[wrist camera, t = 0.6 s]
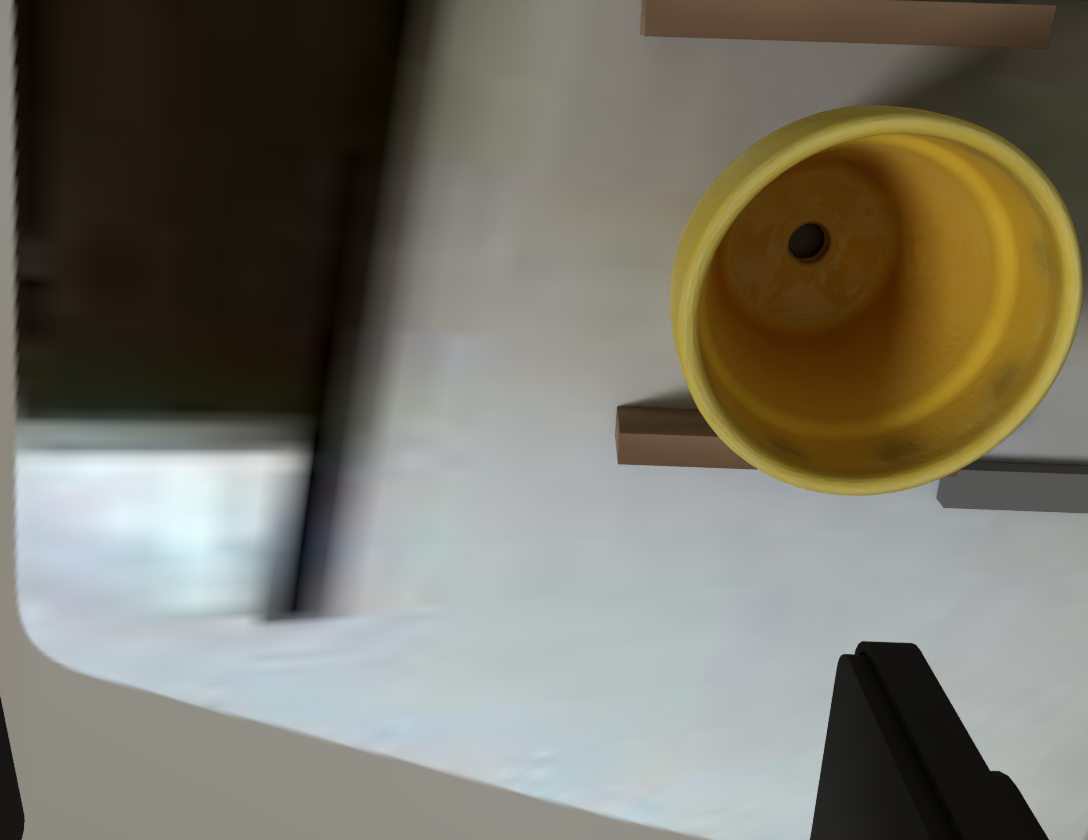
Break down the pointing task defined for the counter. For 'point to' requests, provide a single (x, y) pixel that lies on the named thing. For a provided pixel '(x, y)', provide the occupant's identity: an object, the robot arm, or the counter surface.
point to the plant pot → (875, 298)
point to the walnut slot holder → (821, 16)
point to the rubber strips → (1017, 487)
